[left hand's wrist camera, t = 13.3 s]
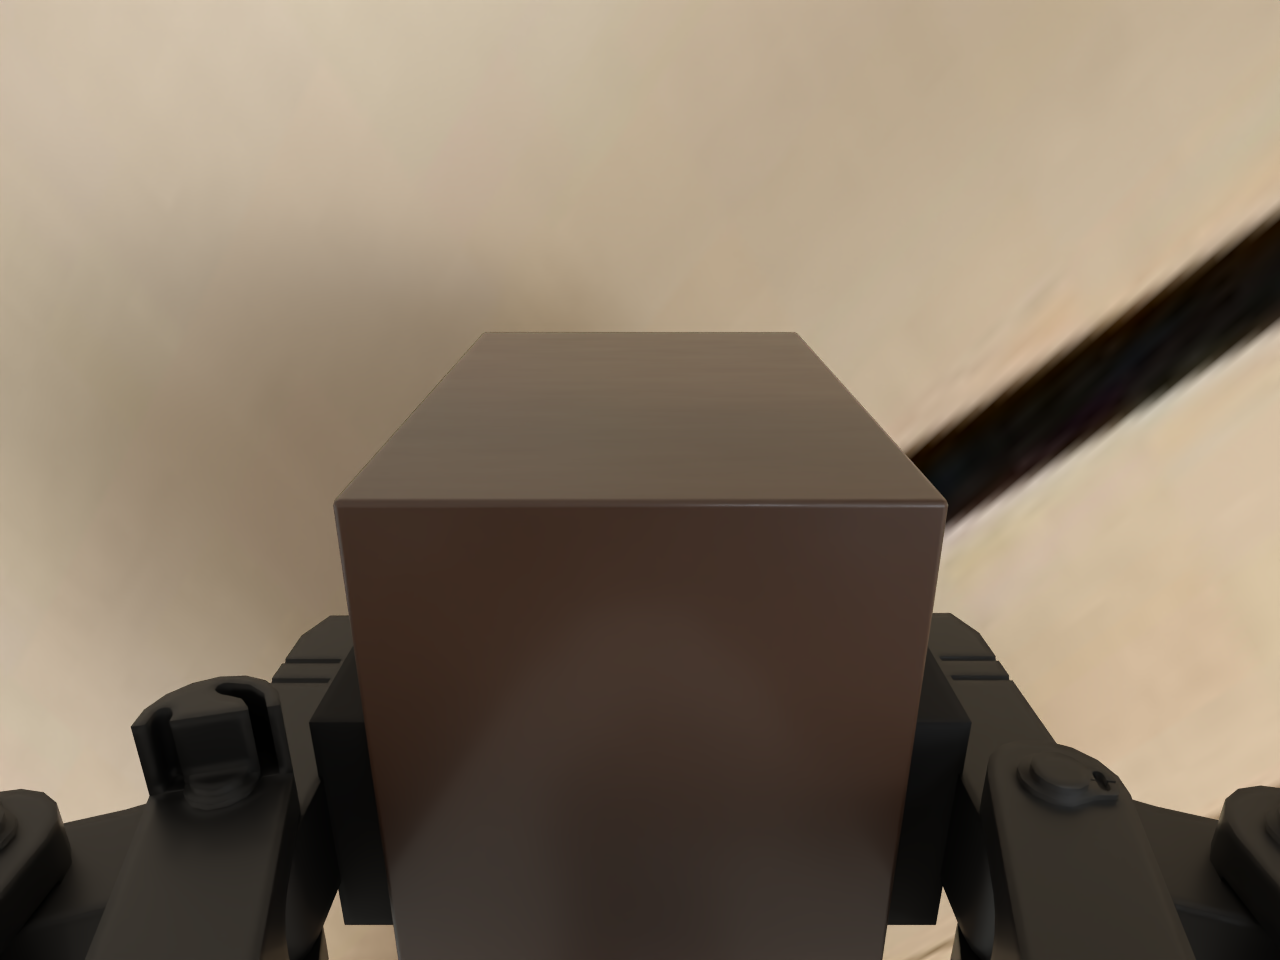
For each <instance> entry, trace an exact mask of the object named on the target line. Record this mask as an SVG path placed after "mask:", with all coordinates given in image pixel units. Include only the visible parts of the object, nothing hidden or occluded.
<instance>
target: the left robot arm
mask: <svg viewBox="0 0 1280 960" xmlns="http://www.w3.org/2000/svg"><path fill="white" fill-rule="evenodd" d="M131 729H132V733H133V737H134V740H135V744H136V748H137V751H138V755H139V758H140V762H141V766H142V769H143V773H144V777H145V780H146V784H147V788H148V791H149V795H150V796H149V799H148V801H147V804H144V805H140V806H137V807H133V808H130V809H126V810H122V811H117V812H113V813H108V814H104V815H99V816H95V817H90V818H86V819H81V820H77V821H72V822H68V823H63V822H62V818H61V815H60V812H59V809H58V806H57V803H56V802H55V801H54V800H52V799H51V798H50V797H49V796H47V795H46V794H45V793H44V792H38V791H31V790H24V789H18V790H10V791H3V792H0V960H328V959H329V958H328V951H327V945H326V939H325V933H324V928H323V925H324V922H325V920H326V917H327V915H328V913H329V910H330V908H331V905H332V903H333V900H334V898H335V895H336V893H337V890H339V895H340V901H341V907H342V912H343V918H344V923H345V925H393V918H392V911H391V904H390V897H389V890H388V884H387V877H386V870H385V863H384V856H383V849H382V842H381V835H380V828H379V821H378V814H377V807H376V800H375V793H374V786H373V779H372V772H371V765H370V758H369V751H368V744H367V737H366V730H365V723H364V716H363V709H362V702H361V695H360V688H359V681H358V674H357V667H356V660H355V653H354V646H353V639H352V632H351V625H350V618H349V616H329V617H328V618H326V619H325V620H323V621H322V622H321V623H319V624H318V625H316V626H315V627H313V628H312V629H311V630H309V631H308V632H306V633H305V634H303V635H302V636H301V637H300V639H299V640H298V642H297V643H296V645H295V646H294V647H293V649H292V650H291V652H290V653H289V655H288V656H287V658H286V662H285V664H282V665H281V666H280V668H279V669H278V671H277V672H276V673H275V675H274V676H273V678H272V683H268V682H267V681H266V680H261V679H257V678H253V677H249V676H225V677H217V678H213V679H208V680H204V681H200V682H195V683H192V684H189V685H187V686H185V687H182V688H180V689H178V690H175V691H173V692H171V693H169V694H166V695H165V696H163V697H162V698H160V699H159V700H157V701H156V702H155V703H153V704H152V705H150V706H149V707H147V708H146V709H145V710H144V711H143V712H142V713H141V714H140V716H139V717H138V718H137V719H136V721H135V722H134V723H133V725H132V726H131ZM942 887H943V888H944V890H945V892H946V895H947V897H948V900H949V902H950V905H951V907H952V909H953V912H954V914H955V917H956V919H957V922H958V923H957V928H956V933H955V939H954V944H953V949H952V954H951V960H1280V788H1275V787H1267V786H1255V787H1248V788H1241V789H1238V790H1236V791H1235V792H1234V793H1233V794H1231V795H1230V796H1229V797H1228V798H1226V799H1225V802H1224V805H1223V808H1222V811H1221V815H1220V818H1219V820H1215V819H1210V818H1206V817H1201V816H1197V815H1192V814H1188V813H1183V812H1179V811H1174V810H1170V809H1165V808H1161V807H1156V806H1152V805H1149V804H1146V803H1142V802H1139V801H1135V800H1132V797H1131V795H1130V793H1129V792H1128V790H1127V789H1126V787H1125V786H1124V784H1123V783H1122V781H1121V780H1120V779H1119V777H1118V776H1117V775H1116V774H1114V773H1113V772H1112V771H1111V770H1109V769H1108V768H1107V767H1106V766H1104V765H1103V764H1102V763H1101V762H1099V761H1098V760H1096V759H1094V758H1092V757H1090V756H1088V755H1086V754H1084V753H1082V752H1080V751H1078V750H1076V749H1074V748H1071V747H1067V746H1064V745H1060V744H1057V743H1056V742H1055V741H1054V739H1053V738H1052V736H1051V735H1050V733H1049V732H1048V731H1047V729H1046V728H1045V726H1044V725H1043V723H1042V722H1041V721H1040V719H1039V718H1038V716H1037V715H1036V713H1035V712H1034V711H1033V709H1032V708H1031V706H1030V705H1029V703H1028V702H1027V701H1026V699H1025V698H1024V696H1023V695H1022V693H1021V692H1020V691H1019V689H1018V688H1017V686H1016V685H1015V683H1014V682H1013V681H1012V680H1009V675H1008V673H1007V672H1006V671H1005V669H1004V668H1003V666H1002V665H1001V663H1000V662H999V661H996V659H995V655H994V653H993V652H992V651H991V649H990V648H989V646H988V645H987V643H986V642H985V641H984V639H983V638H982V636H981V635H980V633H978V632H977V631H976V630H974V629H973V628H971V627H970V626H968V625H967V624H965V623H964V622H963V621H961V620H960V619H958V618H957V617H955V616H954V615H953V614H951V613H932V619H931V626H930V633H929V640H928V647H927V654H926V661H925V667H924V674H923V681H922V688H921V695H920V702H919V709H918V716H917V723H916V730H915V737H914V743H913V750H912V757H911V764H910V771H909V778H908V785H907V792H906V799H905V806H904V813H903V819H902V826H901V833H900V840H899V847H898V854H897V861H896V868H895V875H894V882H893V889H892V895H891V902H890V909H889V916H888V923H887V925H936V921H937V915H938V910H939V904H940V898H941V893H942Z"/></svg>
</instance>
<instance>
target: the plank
mask: <svg viewBox="0 0 1280 960" xmlns="http://www.w3.org/2000/svg"><path fill="white" fill-rule="evenodd" d="M333 507H334V514H335V521H336V528H337V535H338V542H339V549H340V556H341V563H342V570H343V577H344V584H345V591H346V598H347V604H348V611H349V618H350V625H351V632H352V639H353V646H354V653H355V660H356V667H357V674H358V681H359V688H360V695H361V702H362V709H363V716H364V723H365V730H366V737H367V744H368V751H369V758H370V765H371V772H372V779H373V786H374V793H375V800H376V807H377V814H378V821H379V828H380V835H381V842H382V849H383V856H384V863H385V870H386V877H387V884H388V890H389V897H390V904H391V911H392V918H393V925H394V932H395V939H396V946H397V953H398V960H882V958H883V951H884V944H885V937H886V930H887V923H888V916H889V909H890V902H891V895H892V889H893V882H894V875H895V868H896V861H897V854H898V847H899V840H900V833H901V826H902V819H903V813H904V806H905V799H906V792H907V785H908V778H909V771H910V764H911V757H912V750H913V743H914V737H915V730H916V723H917V716H918V709H919V702H920V695H921V688H922V681H923V674H924V667H925V661H926V654H927V647H928V640H929V633H930V626H931V619H932V612H933V605H934V598H935V591H936V584H937V578H938V571H939V564H940V557H941V550H942V543H943V536H944V529H945V522H946V515H947V508H948V504H947V500H946V499H945V498H944V497H943V496H942V495H941V494H940V493H939V491H938V490H937V489H936V488H935V487H934V486H933V485H932V484H931V483H930V481H929V480H928V479H927V478H926V477H925V476H924V475H923V474H922V472H921V471H920V470H919V469H918V468H917V467H916V466H915V465H914V463H913V462H912V461H911V460H910V459H909V458H908V457H907V456H906V455H905V453H904V452H903V451H902V450H901V449H900V448H899V447H898V446H897V444H896V443H895V442H894V441H893V440H892V439H891V438H890V437H889V436H888V434H887V433H886V432H885V431H884V430H883V429H882V428H881V427H880V425H879V424H878V423H877V422H876V421H875V420H874V419H873V418H872V417H871V415H870V414H869V413H868V412H867V411H866V410H865V409H864V408H863V406H862V405H861V404H860V403H859V402H858V401H857V400H856V399H855V397H854V396H853V395H852V394H851V393H850V392H849V391H848V390H847V389H846V387H845V386H844V385H843V384H842V383H841V382H840V381H839V380H838V378H837V377H836V376H835V375H834V374H833V373H832V372H831V371H830V370H829V368H828V367H827V366H826V365H825V364H824V363H823V362H822V361H821V359H820V358H819V357H818V356H817V355H816V354H815V353H814V352H813V350H812V349H811V348H810V347H809V346H808V345H807V344H806V343H805V342H804V340H803V339H802V338H801V337H800V336H799V335H798V334H797V333H795V332H485V333H483V334H482V335H481V336H480V337H479V338H478V340H477V341H476V342H475V343H474V344H473V345H472V346H471V347H470V349H469V350H468V351H467V352H466V353H465V354H464V355H463V356H462V358H461V359H460V360H459V361H458V362H457V363H456V364H455V366H454V367H453V368H452V369H451V370H450V371H449V372H448V373H447V375H446V376H445V377H444V378H443V379H442V380H441V381H440V382H439V384H438V385H437V386H436V387H435V388H434V389H433V390H432V391H431V393H430V394H429V395H428V396H427V397H426V398H425V399H424V400H423V402H422V403H421V404H420V405H419V406H418V407H417V408H416V409H415V411H414V412H413V413H412V414H411V415H410V416H409V417H408V418H407V420H406V421H405V422H404V423H403V424H402V425H401V426H400V427H399V429H398V430H397V431H396V432H395V433H394V434H393V435H392V436H391V438H390V439H389V440H388V441H387V442H386V443H385V444H384V445H383V447H382V448H381V449H380V450H379V451H378V452H377V453H376V454H375V456H374V457H373V458H372V459H371V460H370V461H369V462H368V463H367V465H366V466H365V467H364V468H363V469H362V470H361V471H360V472H359V474H358V475H357V476H356V477H355V478H354V479H353V480H352V481H351V483H350V484H349V485H348V486H347V487H346V488H345V489H344V490H343V492H342V493H341V494H340V495H339V496H338V497H337V498H336V499H335V501H334V504H333Z"/></svg>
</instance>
